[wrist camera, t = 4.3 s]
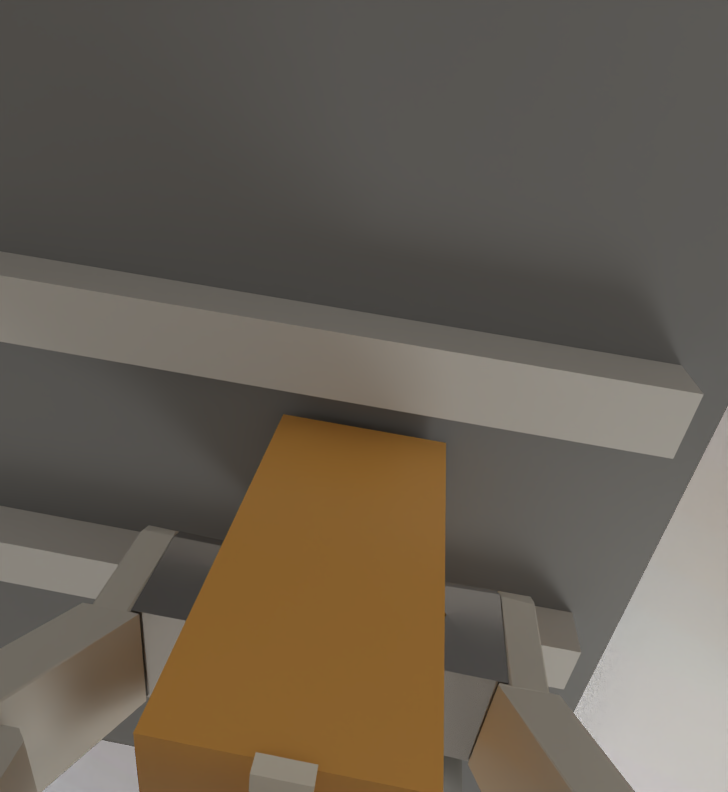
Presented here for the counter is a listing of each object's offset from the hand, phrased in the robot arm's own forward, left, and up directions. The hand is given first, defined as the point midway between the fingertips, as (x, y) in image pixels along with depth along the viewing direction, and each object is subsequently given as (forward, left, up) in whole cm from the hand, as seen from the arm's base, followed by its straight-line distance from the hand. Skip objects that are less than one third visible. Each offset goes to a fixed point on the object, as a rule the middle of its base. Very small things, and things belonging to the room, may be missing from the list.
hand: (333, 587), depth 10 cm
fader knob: (0, 0, -2) cm, 2 cm away
